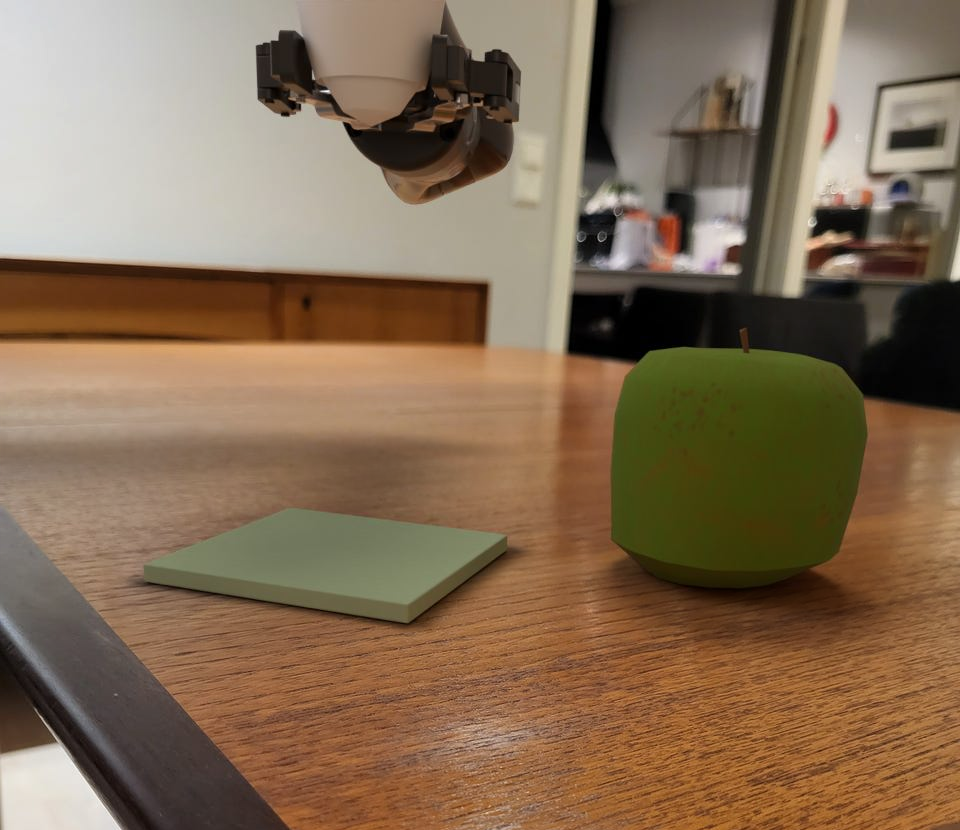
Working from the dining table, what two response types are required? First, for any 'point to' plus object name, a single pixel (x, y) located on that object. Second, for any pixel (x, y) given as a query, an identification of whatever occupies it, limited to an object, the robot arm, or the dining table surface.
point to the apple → (734, 464)
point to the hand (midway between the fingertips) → (362, 58)
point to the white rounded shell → (371, 51)
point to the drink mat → (333, 563)
